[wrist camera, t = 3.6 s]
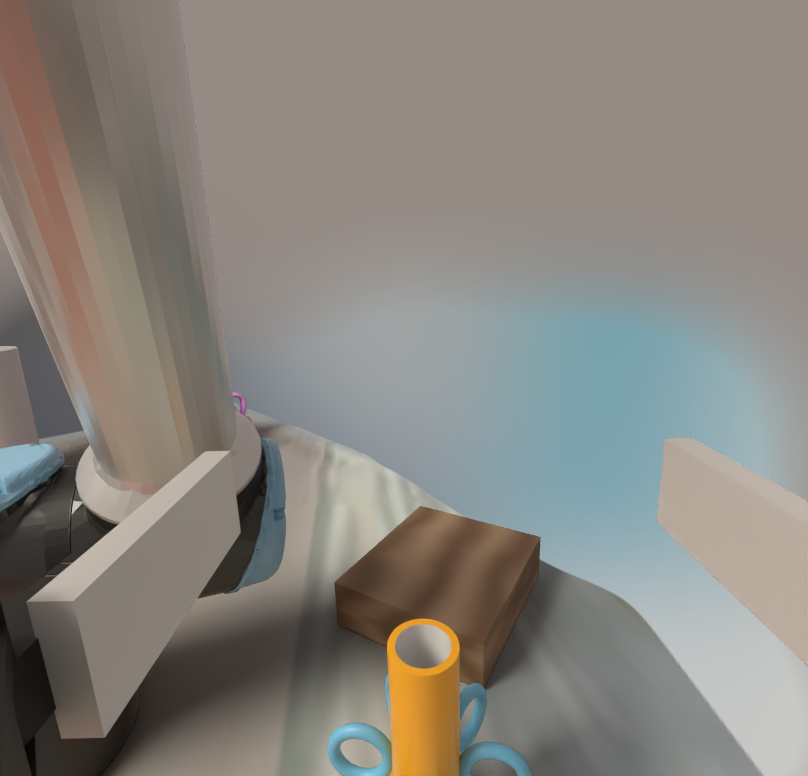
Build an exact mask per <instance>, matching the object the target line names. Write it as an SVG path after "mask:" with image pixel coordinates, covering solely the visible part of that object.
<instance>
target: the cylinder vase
mask: <svg viewBox="0 0 808 776" xmlns="http://www.w3.org/2000/svg"><path fill="white" fill-rule="evenodd" d="M25 444H39V440H38V436H37V431H36V427H35V422H34V418H33V414H32V409H31V405H30V401H29V396H28V393H27V388H26V384H25V379H24V375H23V371H22V366H21V362H20V358H19V354H18V349H17V347H15V346H0V449H2V448H7V447H12V446H17V445H25ZM39 445H40V444H39Z"/></svg>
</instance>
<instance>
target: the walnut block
mask: <svg viewBox="0 0 808 776" xmlns="http://www.w3.org/2000/svg"><path fill="white" fill-rule="evenodd" d="M539 555H540V537H538V536H534V535H530V534H526V533H523V532H519V531H515V530H511V529H507V528H503V527H499V526H496V525H492V524H488V523H484V522H480V521H476V520H473V519H469V518H465V517H461V516H457V515H453V514H449V513H446V512H442V511H438V510H434V509H430V508H426V507H423V506H420V507H419V508H418V509H416V510H415V511H414V512H413V513H412V514H411V515H410V516H409V517H407V518H406V519H405V520H404V521H403V522H402V523H401V524H400V525H398V526H397V527H396V528H395V529H394V530H393V531H392V532H391V533H389V534H388V535H387V536H386V537H385V538H384V539H383V540H382V541H380V542H379V543H378V544H377V545H376V546H375V547H374V548H373V549H372V550H370V551H369V552H368V553H367V554H366V555H365V556H364V557H363V558H361V559H360V560H359V561H358V562H357V563H356V564H355V565H354V566H352V567H351V568H350V569H349V570H348V571H347V572H346V573H345V574H343V575H342V576H341V577H340V578H339V579H338V580H337V581H336V582H335V595H336V608H337V621H338V625H340V626H343V627H345V628H347V629H349V630H351V631H353V632H356V633H358V634H360V635H362V636H364V637H367V638H369V639H371V640H373V641H375V642H377V643H380V644H382V645H384V646H386V647H387V642H388V639H389V637H390V635H391V633H392V632H393V631H394V630H395V629H396V628H397V627H398V626H399V625H401V624H403V623H405V622H407V621H410V620H414V619H432V620H436V621H439V622H441V623H443V624H445V625H447V626H448V627H449V628H450V629H451V630H452V631H453V632H454V633H455V634H456V636H457V638H458V641H459V646H460V681H462V682H464V683H466V684H469V685H470V684H472V683H478V684H481V685H482V686H483V687H484V688H485V686H486V684H487V682H488V680H489V677H490V675H491V673H492V671H493V669H494V667H495V665H496V663H497V661H498V659H499V657H500V654H501V652H502V650H503V648H504V646H505V644H506V642H507V640H508V638H509V636H510V634H511V631H512V629H513V627H514V625H515V623H516V621H517V619H518V617H519V615H520V613H521V611H522V608H523V606H524V604H525V602H526V600H527V598H528V596H529V594H530V592H531V590H532V588H533V585H534V583H535V581H536V579H537V577H538V575H539Z"/></svg>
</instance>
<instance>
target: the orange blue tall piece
mask: <svg viewBox="0 0 808 776" xmlns="http://www.w3.org/2000/svg"><path fill="white" fill-rule="evenodd" d="M387 658H388V675H387V676H386V679H385V695H386V702H387V707H388V711H389V715H390V725H391V742H390V741H389V739H388V738H387V737H386V736H385V735H384V734H383V733H382V732H381V731H379V730H378V729H376V728H374V727H372V726H370V725H367V724H363V723H348V724H345V725H342V726H340V727H339V728H337V729H336V730H335V731H334V732H333V733H332V735H331V737H330V739H329V742H328V756H329V759H330V761H331V763H332V765H333V766H334V768H335V769H336V770H337V771H338V772H339V773H340V774H341V775H342V776H472V775H471V772H470V770H471V767H472V765H473V764H474V763H476V762H478V761H480V760H484V759H495V760H499V761H502V762H505V763H507V764H508V765H510V766H511V767H512V768H513V769H514V770H515V771H516V773H517V775H518V776H531V772H530V769H529V766H528V764H527V763H526V761H525V760H524V758H523V757H522V756H521V755H520V754H519V753H518V752H516V751H515V750H513V749H512V748H510V747H508V746H506V745H503V744H500V743H495V742H481V743H477V744H474V745H472V746H470V747H468V746H469V745H470V744H471V742H472V741H473V739H474V738H475V736H476V735H477V733H478V731H479V729H480V726H481V724H482V721H483V718H484V715H485V711H486V706H487V695H486V691H485V689H484V687H483V686H482V685H481V684H478V683H472V684H470V685H468V686H467V687H466V688H465V689H464V690H463V691H462V692H461V693H460V646H459V641H458V638H457V636H456V634H455V633H454V632H453V631H452V630H451V629H450V628H449V627H448V626H447V625H445V624H443V623H441V622H439V621H436V620H432V619H414V620H410V621H407V622H405V623H403V624H401V625H399V626H398V627H397V628H396V629H395V630H394V631H393V632H392V633H391V635H390V637H389V639H388V642H387ZM475 697H476V701H475V707H474V711H473V714H472V716H471V719H470V721H469V723H468V725H467V726H466V728H465V730H464V731H463V732H462V734H461V735H460V720H461V717H462V715H463V713H464V711H465V709H466V708H467V706H468V705H469V703H470V702H471V701H472V700H473V699H474V698H475ZM348 739H361V740H365V741H367V742H369V743H371V744H373V745H374V746H375V747H376V748H377V749H378V750H379V751H380V753H381V755H382V758H383V760H382V763H381V764H380V765H378V766H377V767H373V768H363V767H359V766H356V765H354V764H352V763H351V762H349V761H348V760H347V759H346V758H345V757H344V756H343V754H342V752H341V750H340V745H341V743H342V742H344V741H345V740H348ZM467 747H468V748H467ZM466 748H467V749H466ZM465 749H466V750H465ZM464 750H465V751H464ZM462 751H464V752H463V753H462V754H461V756H460V753H461V752H462Z"/></svg>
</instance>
